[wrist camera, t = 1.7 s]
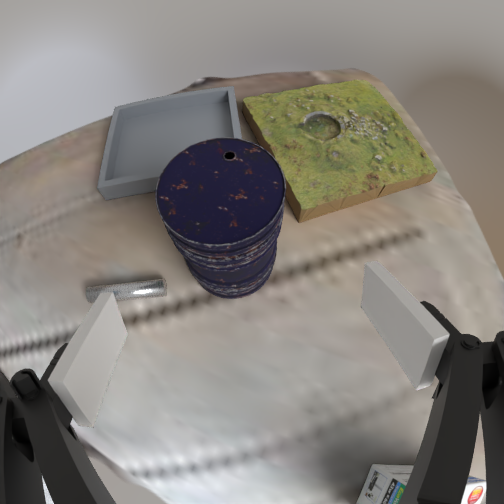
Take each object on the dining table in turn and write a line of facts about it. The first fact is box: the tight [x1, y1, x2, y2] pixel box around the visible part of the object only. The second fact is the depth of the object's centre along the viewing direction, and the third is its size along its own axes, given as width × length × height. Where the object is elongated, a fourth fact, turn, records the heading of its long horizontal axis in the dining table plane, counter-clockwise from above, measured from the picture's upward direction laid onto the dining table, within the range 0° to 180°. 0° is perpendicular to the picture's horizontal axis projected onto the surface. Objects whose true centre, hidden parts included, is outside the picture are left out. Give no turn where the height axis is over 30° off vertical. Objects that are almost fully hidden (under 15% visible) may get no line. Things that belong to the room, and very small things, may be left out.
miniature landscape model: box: [242, 80, 437, 223], centre depth 41 cm, size 22×24×5 cm
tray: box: [97, 86, 242, 200], centre depth 41 cm, size 20×17×3 cm
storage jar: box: [156, 137, 286, 299], centre depth 29 cm, size 10×10×15 cm
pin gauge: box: [86, 279, 167, 303], centre depth 33 cm, size 10×2×2 cm, turn 97°
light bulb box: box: [356, 464, 486, 504], centre depth 19 cm, size 11×7×11 cm, turn 74°
